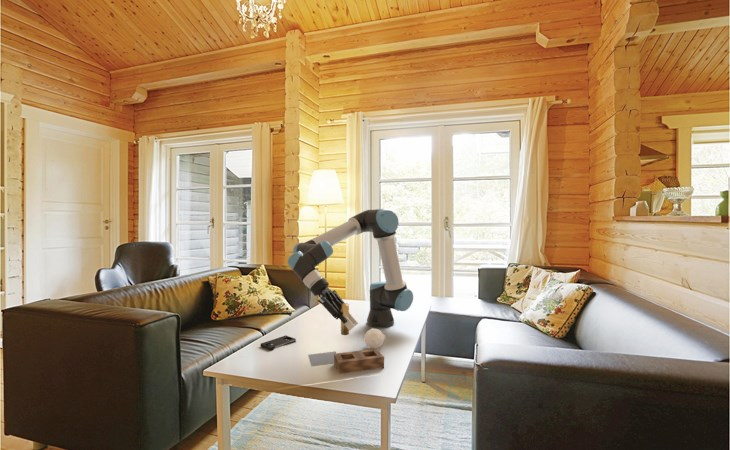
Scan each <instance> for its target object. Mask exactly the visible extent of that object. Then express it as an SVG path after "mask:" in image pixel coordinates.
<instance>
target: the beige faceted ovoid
mask: <svg viewBox="0 0 730 450" xmlns="http://www.w3.org/2000/svg"><path fill="white" fill-rule="evenodd" d="M363 337H364V338H363V341H364V343H365V346H366V347H368V348H369V349H379V348H380V347H382V345H383V344H384V341H385V340H386V339H387V337H386V334H385V333H383V332H382V331H381V330H380V329H378V328H373V327H372V328H370V329H369V330H367V331H366V332H365V333H364V336H363Z"/></svg>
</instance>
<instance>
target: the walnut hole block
mask: <svg viewBox="0 0 730 450" xmlns="http://www.w3.org/2000/svg"><path fill="white" fill-rule="evenodd" d="M333 365H334V367H335V369H336V370H337V372H338V374H339V375H340V374H347V373H354V372H361V371H367V370H369V371H370V370H375V369H385V356H384V355H383V354H382V353H381V352H380V350H379V348H377V349H370V348H369V349H364V350H363V349H362V350H361V349H360V350H356V351H355V350H353V351H347V352H339V353H337V352H336V354H334V364H333Z"/></svg>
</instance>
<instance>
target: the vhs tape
mask: <svg viewBox="0 0 730 450" xmlns="http://www.w3.org/2000/svg"><path fill="white" fill-rule="evenodd" d="M296 342H297V339H296V338H294V337H292V336H290V335H283V336H280V337H277V338H273V339H271V340H267V341H265V342H261V343H260V348H263V349H265V350H267V351H270V352H271V351H274V349H278V348H280V347H285V346H289V345H291V344H295V343H296Z"/></svg>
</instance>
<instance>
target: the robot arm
mask: <svg viewBox="0 0 730 450" xmlns="http://www.w3.org/2000/svg"><path fill="white" fill-rule="evenodd" d="M399 222H400V221H399V217H398V215H397V214H396V212H395V211H394V210H392V209H388V208H376V209H366V210H364V211H362V212H359V213H357V214H356V215H353V216H351V217H349V218H348V220H347V221H345V222H344V223H342V224H340V225H338V226H335V227H333V228H332V229H330V230H327V231H325V232H324V233H321V234H318V235H317V236H315V237H313V238H312V239H309V240H306V241H304V242H299V243H296V244H295V245H294V246H293V249H292V252H293V253H292V254H291V255H290V256H289V257H288V258H287V262H286V263H287V264H288V265H289V268H290V269H291V270H292V271H293V272H294V274H296V275H297V277H298V278H299V279H300V280H301V282H303V283H304V286H306V287H307V288H308V289H309V291H310V292H311V293H312V295H313V296H315V297H316V296H317V297H319V299H318V300H317V302H318V303H319V304H320V305H322V306H323V308H325V310H327V312H329V314H330V315H331V316H332V317H333V318H334V319H335V320H340V322H341V321H342V322H343V324H344V325H345V326H346V327H347V328H348V329H349V332H350V331H352V329H353V328H355V327H356V326H357V325H358V324H359V322H358V321H357V320H356V319H355V317H354V316H353V315H352V313H350V312H349V318H348V317H347V316H346V315H345V314H343V313H342V312H341V304H343V303H345V302H344V300H343V299H342V297H341V296H339V294H338V292H337V291H336V290H331V289H330V288H329V287H328V286H329V285H330V284H329V282H328V281H327V280H326V279H325V277H323V275H322V274H321V272H319V270H318V269H317V268H316V267H317V266H319V265H320V264H321V263H323V262H324V261H326V260H327V259H329V258H330V257H331V256H332V255H334V254H333V253H334V250H333V246H335V245H337V244H339V243H341V242H342V241H344V240H346V239H348V238H350V237H352V236H355V235H356V236H357V235H360V234H362V233H368V232H369V233H372V236H373V238H374V239H375V240H376V241H377V246H378V250H379V255H380V260H381V265H382V269H383V274H384V278H385V281H379V282H378V281H377V282H372V283H371V284H370V285H369V312H368V315H367V318H366V325H368V326H370V327H372V328H373V327H374V328H380V329H381V328H388V327H393V326H394V325H395V318H394V315H393V312H392V310H396V311H397V312H399V311H400V312H405V311H408V310H409V309H410V308H411V306H412V305H413V301H414V293H413V291H412V290H411V289H410V288H409V289H408V287H407V283H406V281H404V280H403V277H402V271H401V267H400V261H399V256H398V251H397V246H396V242H395V235H396V234H397V230H398V226H399ZM342 314H343V315H342Z"/></svg>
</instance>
